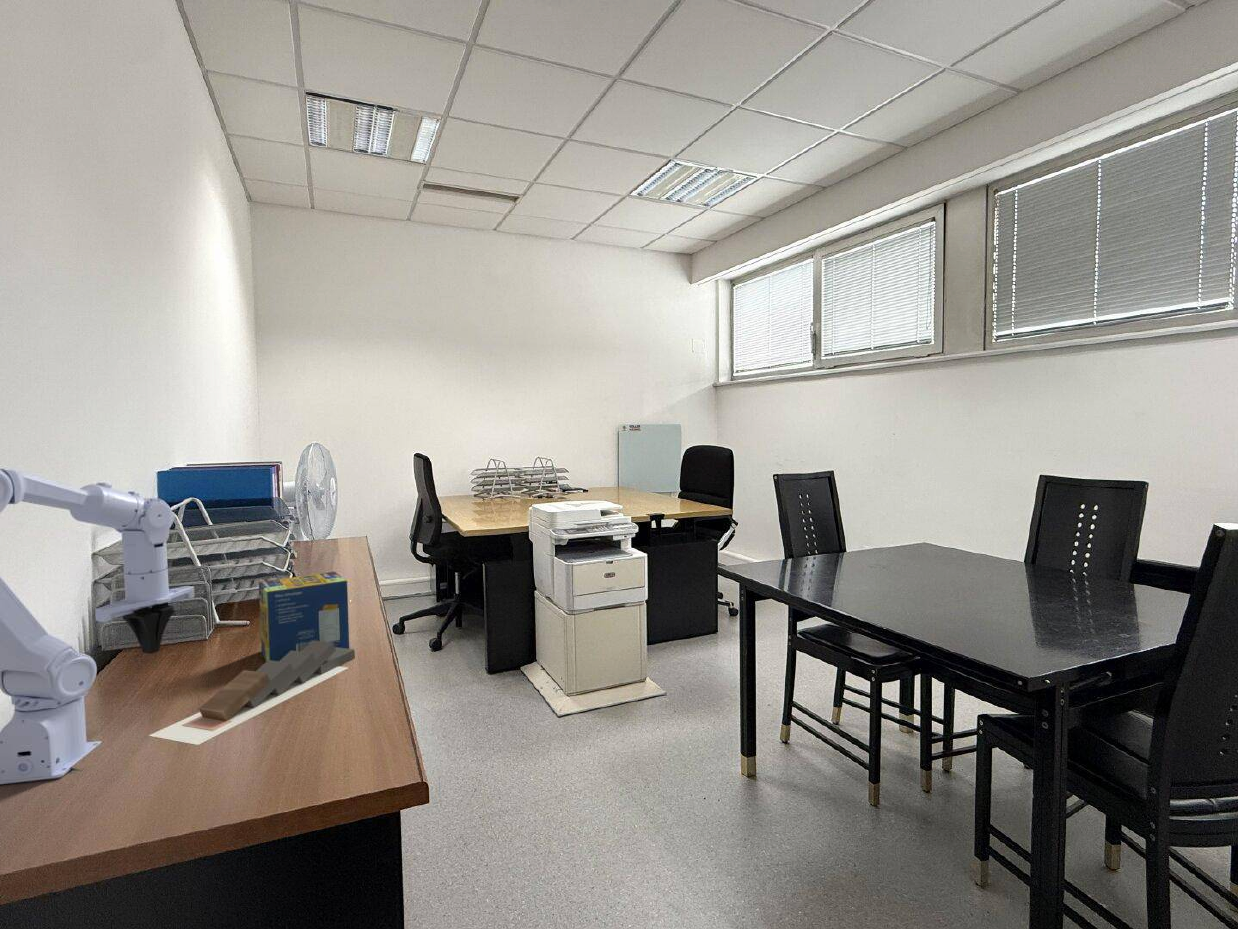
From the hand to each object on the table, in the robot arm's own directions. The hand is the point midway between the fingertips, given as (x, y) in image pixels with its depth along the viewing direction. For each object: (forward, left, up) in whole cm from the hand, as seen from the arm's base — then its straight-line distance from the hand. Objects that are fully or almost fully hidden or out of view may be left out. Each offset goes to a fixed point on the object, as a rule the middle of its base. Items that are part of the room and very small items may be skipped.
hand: (150, 651), depth 102 cm
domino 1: (-7, -11, -9) cm, 16 cm away
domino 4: (+6, -19, -9) cm, 22 cm away
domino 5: (+10, -21, -9) cm, 25 cm away
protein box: (+25, -17, -11) cm, 32 cm away
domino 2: (-3, -14, -9) cm, 17 cm away
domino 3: (+2, -16, -9) cm, 19 cm away
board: (+1, -16, -10) cm, 19 cm away
